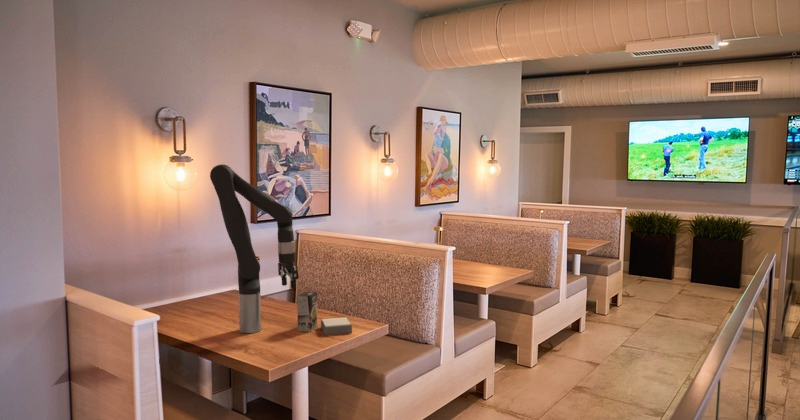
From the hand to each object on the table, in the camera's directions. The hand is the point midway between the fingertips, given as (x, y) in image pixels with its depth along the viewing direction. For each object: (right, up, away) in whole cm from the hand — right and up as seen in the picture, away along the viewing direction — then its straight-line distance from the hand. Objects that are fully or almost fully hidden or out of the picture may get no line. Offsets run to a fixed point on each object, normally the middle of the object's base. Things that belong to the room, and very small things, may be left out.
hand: (289, 286), depth 253 cm
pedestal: (+21, -19, -1) cm, 29 cm away
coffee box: (+8, -19, +1) cm, 21 cm away
